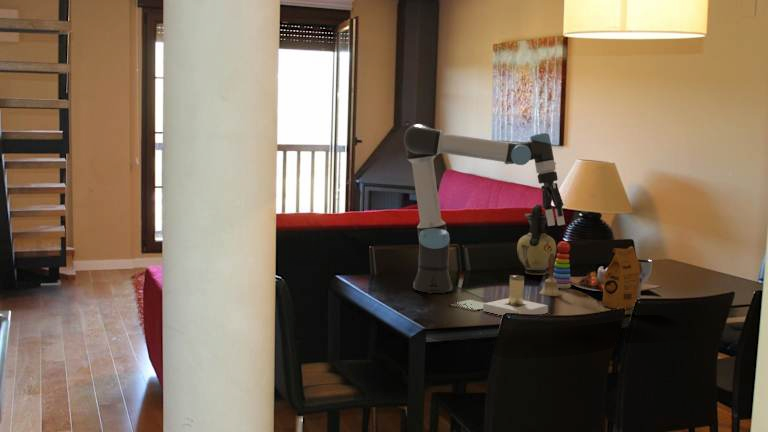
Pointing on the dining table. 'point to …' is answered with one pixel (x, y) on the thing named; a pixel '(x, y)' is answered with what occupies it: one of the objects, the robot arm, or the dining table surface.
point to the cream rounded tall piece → (536, 244)
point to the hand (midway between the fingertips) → (556, 225)
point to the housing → (503, 307)
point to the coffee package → (622, 279)
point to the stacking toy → (562, 266)
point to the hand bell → (550, 280)
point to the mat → (474, 305)
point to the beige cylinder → (516, 290)
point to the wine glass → (644, 272)
